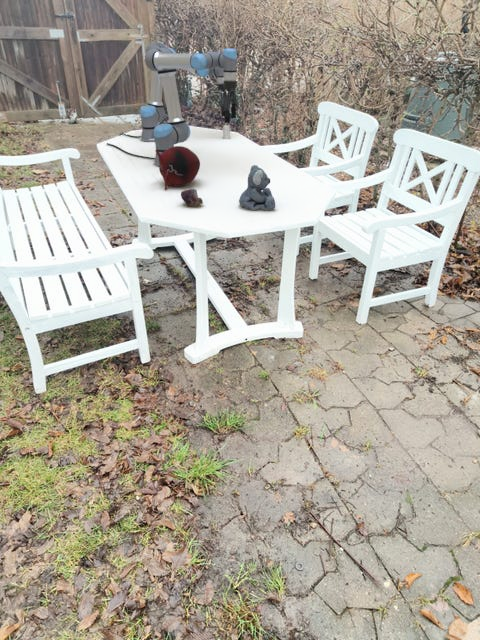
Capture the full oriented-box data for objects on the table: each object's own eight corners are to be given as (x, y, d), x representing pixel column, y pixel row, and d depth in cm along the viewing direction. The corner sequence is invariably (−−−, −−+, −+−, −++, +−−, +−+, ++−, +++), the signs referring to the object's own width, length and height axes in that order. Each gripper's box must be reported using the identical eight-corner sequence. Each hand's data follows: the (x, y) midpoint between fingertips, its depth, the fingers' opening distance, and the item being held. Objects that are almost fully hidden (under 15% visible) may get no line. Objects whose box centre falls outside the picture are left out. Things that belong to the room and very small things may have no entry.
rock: (196, 202, 238) (178, 205, 233) (194, 185, 234) (176, 188, 230) (205, 205, 228) (187, 208, 224) (203, 188, 224) (185, 191, 220)
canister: (230, 138, 352) (230, 126, 346) (223, 138, 351) (223, 126, 346) (229, 137, 356) (229, 125, 351) (222, 137, 355) (222, 125, 350)
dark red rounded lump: (157, 151, 264) (151, 150, 240) (196, 143, 263) (194, 140, 240) (167, 188, 271) (161, 190, 247) (205, 180, 270) (203, 181, 246)
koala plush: (276, 211, 223) (277, 171, 212) (240, 212, 222) (240, 172, 211) (271, 199, 237) (272, 161, 226) (237, 200, 236) (237, 162, 225)
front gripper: (230, 83, 245) (231, 125, 257) (242, 77, 264) (241, 116, 277) (217, 83, 246) (218, 124, 258) (229, 77, 266) (230, 116, 278)
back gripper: (226, 85, 319) (228, 117, 331) (228, 81, 340) (229, 111, 352) (216, 85, 320) (218, 117, 332) (218, 81, 340) (220, 111, 352)
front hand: (230, 120), depth 267 cm, fingers open, 13 cm apart
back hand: (224, 114), depth 342 cm, fingers open, 13 cm apart
